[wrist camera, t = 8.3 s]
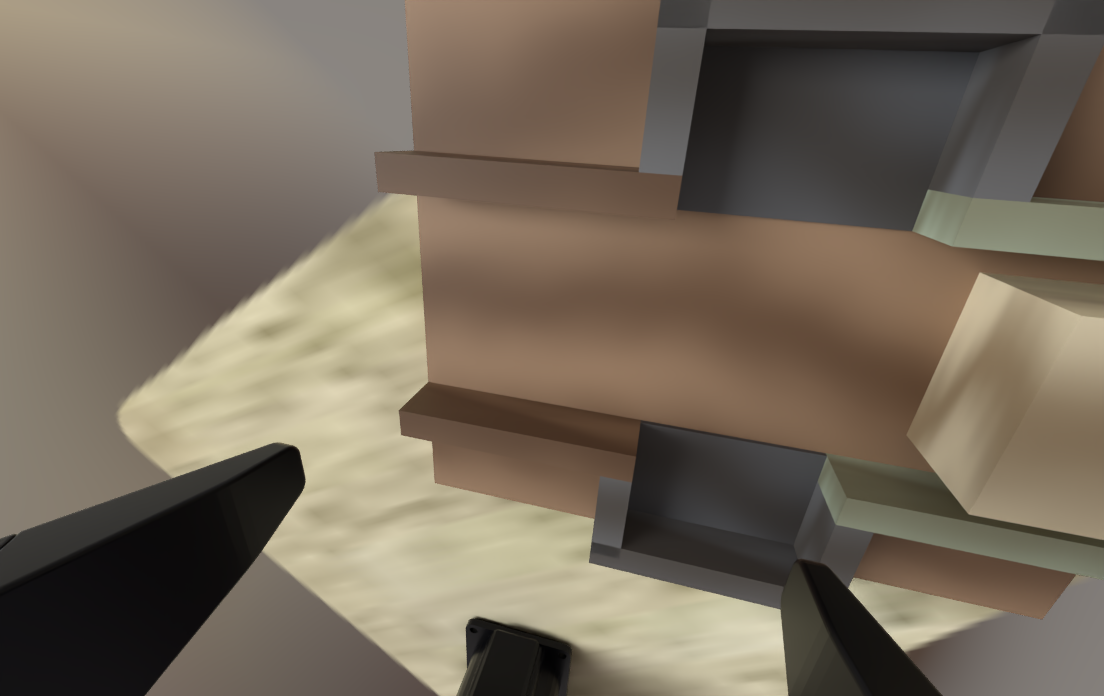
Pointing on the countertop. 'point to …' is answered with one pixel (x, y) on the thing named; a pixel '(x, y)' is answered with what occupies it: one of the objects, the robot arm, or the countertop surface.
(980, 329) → the maple block
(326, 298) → the countertop surface
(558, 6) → the trap lane
